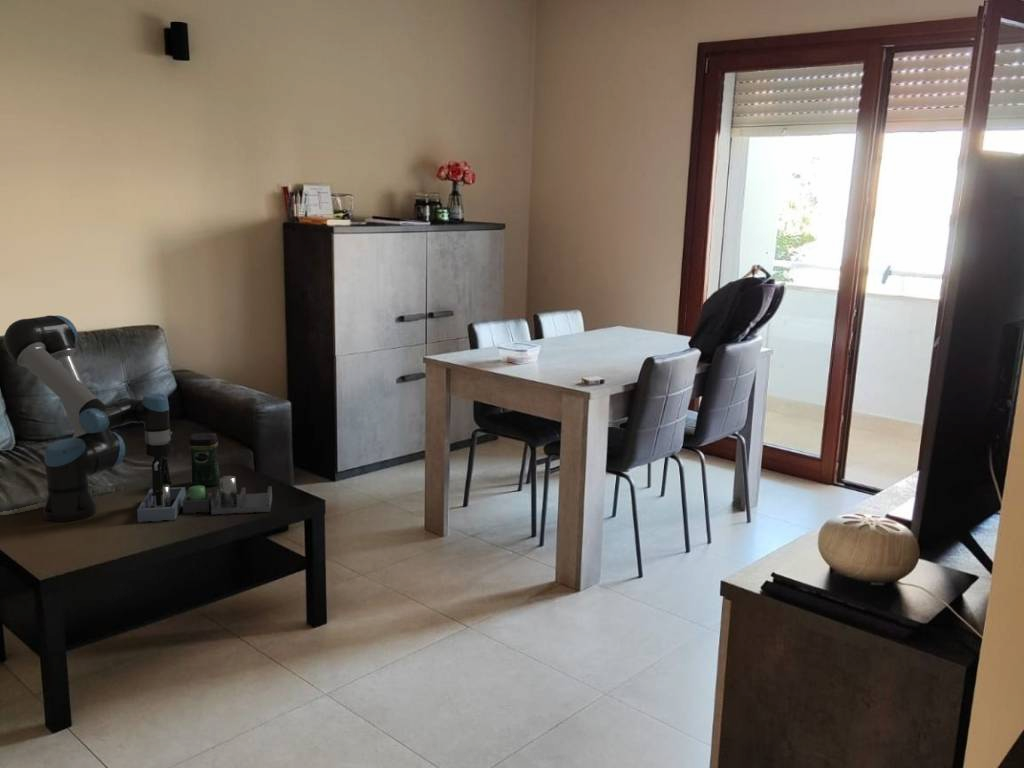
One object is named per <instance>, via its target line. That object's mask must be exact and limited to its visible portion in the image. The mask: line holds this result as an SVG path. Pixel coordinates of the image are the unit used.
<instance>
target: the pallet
mask: <svg viewBox="0 0 1024 768" xmlns="http://www.w3.org/2000/svg"><path fill="white" fill-rule="evenodd" d="M246 492H247V491H246V487H241V490H240V493H239V494H237V502H235V503H231V504H223V503H221V494H220V488H215V490H214V492H213V494H212V499H211V509H210V512H211V516H218V515H217V514H221V515H234V514H233V513H238V514H255V513H254V512H256V513H268V512H269V513H270V512H271V507H272V502H273V488H272V486H271V485H269V486H267V491H266V492H262V493H261V492H260V493H259V492H258V493H246ZM230 513H231V514H230ZM214 514H215V515H214Z"/></svg>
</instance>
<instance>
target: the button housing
mask: <svg viewBox="0 0 1024 768" xmlns="http://www.w3.org/2000/svg"><path fill="white" fill-rule="evenodd" d="M205 497H206V500H189V493H186V496H185V498H184V500H183V505H182V514H183V513H186V514H194V513H193V512H204V513H210V512H211V499H212V497H213V493H212V492H205Z"/></svg>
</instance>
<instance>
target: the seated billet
mask: <svg viewBox="0 0 1024 768" xmlns="http://www.w3.org/2000/svg"><path fill="white" fill-rule="evenodd" d="M219 495H221V503H223V504H231V503H235V502H237V495H238V494H237V477H236V476H235V475H224V476H220V482H219Z"/></svg>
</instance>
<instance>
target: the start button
mask: <svg viewBox="0 0 1024 768" xmlns="http://www.w3.org/2000/svg"><path fill="white" fill-rule="evenodd" d="M205 493H206V486H193V485H192V486H190V487H188V494H189V500H206V497H205Z"/></svg>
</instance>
